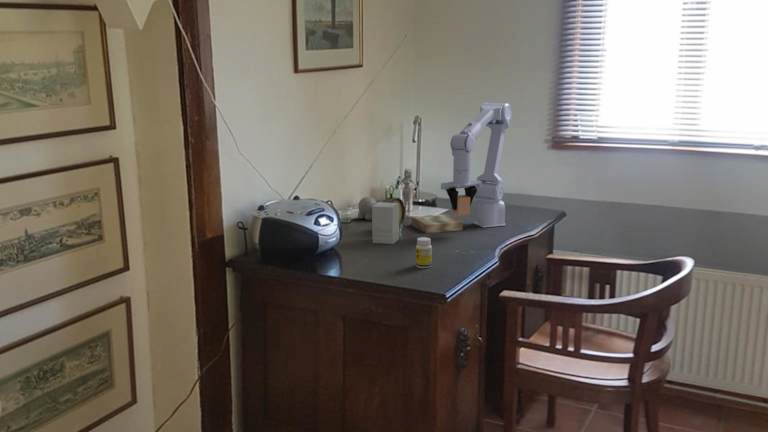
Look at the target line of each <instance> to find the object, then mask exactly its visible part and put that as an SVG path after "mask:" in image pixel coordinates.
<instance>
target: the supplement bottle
mask: <svg viewBox="0 0 768 432" xmlns="http://www.w3.org/2000/svg"><path fill="white" fill-rule="evenodd" d="M431 240H432V239H431V238H429V237H424V236H423V237H418V238H417V239H416V245H415V266H416V268H419V269H428V268H429V267H430V268H431V267H432V266H433V264H432V263H433V259H432V257H433V256H432V255H433V254H432V253H433V247H432V246H433V245H431V242H432V241H431Z"/></svg>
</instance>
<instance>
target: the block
mask: <svg viewBox="0 0 768 432" xmlns="http://www.w3.org/2000/svg"><path fill="white" fill-rule="evenodd" d="M451 213H452V214H453V215H456V216H459V217H460V216H469V215H471V207H470V197H468V196H466V195H465V194H458V197H457V210H453V209H452V212H451Z"/></svg>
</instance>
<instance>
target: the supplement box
mask: <svg viewBox="0 0 768 432" xmlns="http://www.w3.org/2000/svg"><path fill="white" fill-rule="evenodd" d="M371 225H372V227H371V229H372V231H371V233H372V234H371V235H372V237H371V238H372V243H373V244H385V245H386V244H387V245H394V244H395V243H396V242H398V241H399V240H400V228H399V203H386V202H381V201H378V202H377V203H376V204H375V205H373V206H372V219H371Z"/></svg>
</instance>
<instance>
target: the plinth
mask: <svg viewBox="0 0 768 432" xmlns="http://www.w3.org/2000/svg"><path fill="white" fill-rule="evenodd" d="M463 224H464V221H462V220H460V219H458V218H456V217H454V216H452V215H449V214H448V213H439V214H429V215H418V216H417V215H416V216H411V217H410V225H411V226H412V227H414V228H416V229H418V230H420V231H421V232H423V233H425V234H436V233H443V232H445V233H447V232H455V231H463V230H464V229H463V228H464V225H463Z"/></svg>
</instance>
